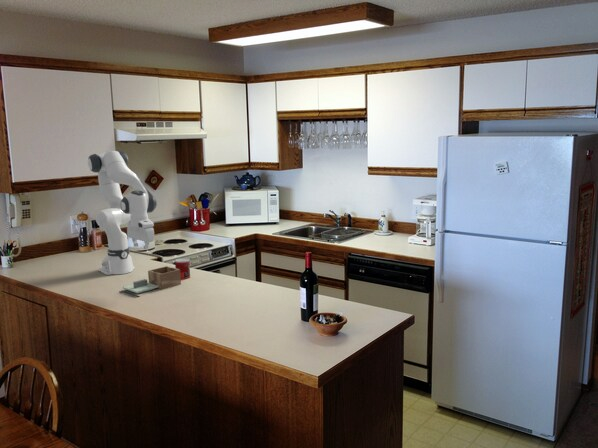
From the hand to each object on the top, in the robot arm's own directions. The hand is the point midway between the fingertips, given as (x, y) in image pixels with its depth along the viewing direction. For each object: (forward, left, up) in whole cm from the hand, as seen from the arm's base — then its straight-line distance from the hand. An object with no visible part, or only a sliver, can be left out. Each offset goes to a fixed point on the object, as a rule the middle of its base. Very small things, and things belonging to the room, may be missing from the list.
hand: (141, 248), depth 287 cm
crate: (+5, +10, -22) cm, 25 cm away
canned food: (+1, +25, -23) cm, 33 cm away
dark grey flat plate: (+2, -3, -22) cm, 23 cm away
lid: (+2, -3, -22) cm, 22 cm away
